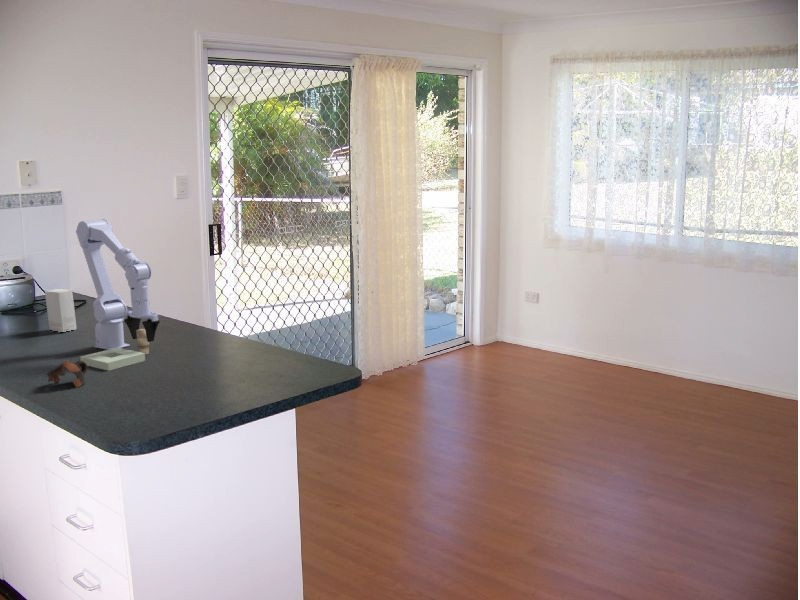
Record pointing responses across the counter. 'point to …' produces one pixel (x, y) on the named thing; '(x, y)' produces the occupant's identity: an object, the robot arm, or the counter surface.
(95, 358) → the sage board
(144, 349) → the beech peg
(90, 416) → the counter surface
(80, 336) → the counter surface
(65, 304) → the skincare box
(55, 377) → the brown arch piece
